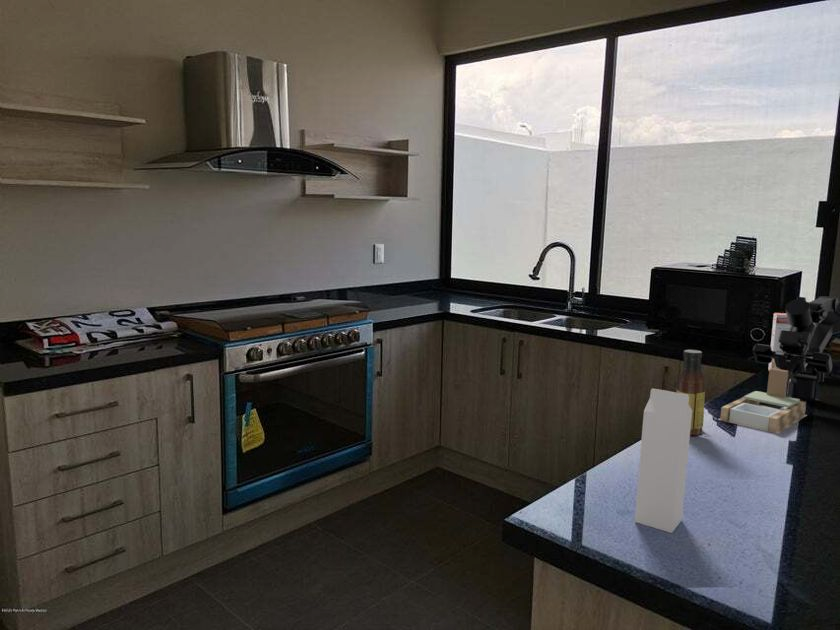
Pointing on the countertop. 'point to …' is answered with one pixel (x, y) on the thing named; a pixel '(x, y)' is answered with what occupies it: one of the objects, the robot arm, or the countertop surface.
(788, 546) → the countertop surface
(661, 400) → the milk
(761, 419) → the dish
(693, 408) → the sauce bottle
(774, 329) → the cracker box
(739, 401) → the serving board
